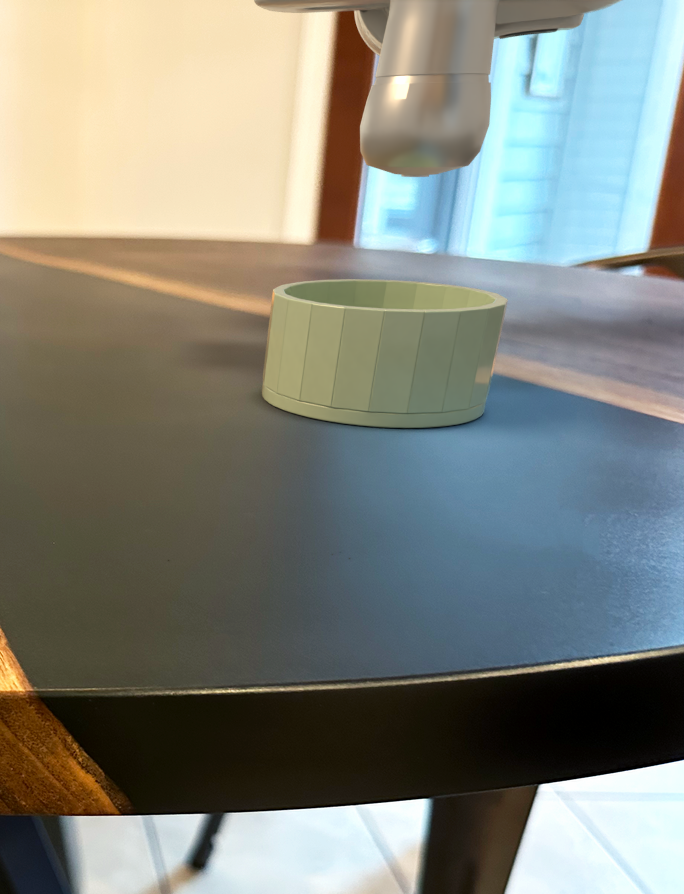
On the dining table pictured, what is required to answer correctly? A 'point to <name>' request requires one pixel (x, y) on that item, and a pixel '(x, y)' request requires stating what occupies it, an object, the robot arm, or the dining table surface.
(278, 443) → the dining table surface
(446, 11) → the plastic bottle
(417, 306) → the round open container
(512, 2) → the robot arm
